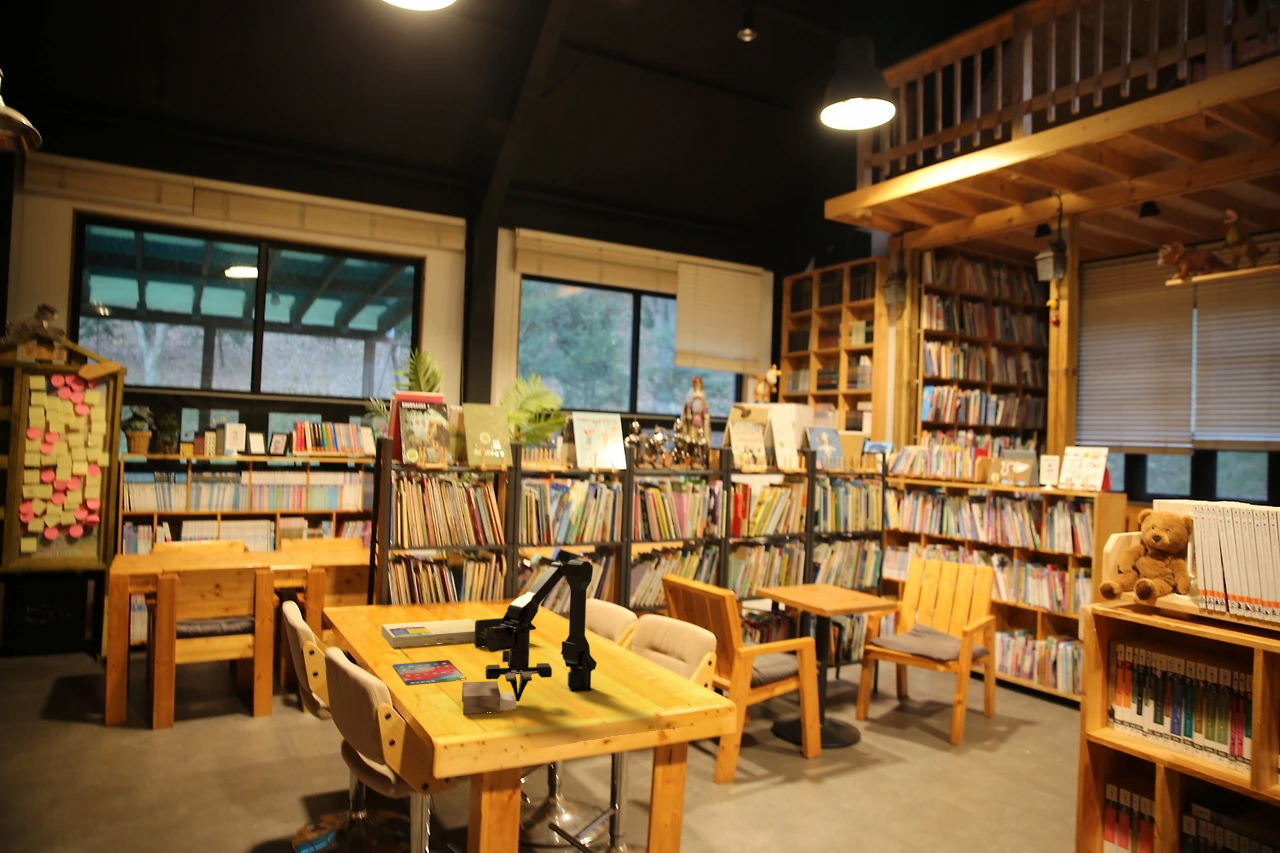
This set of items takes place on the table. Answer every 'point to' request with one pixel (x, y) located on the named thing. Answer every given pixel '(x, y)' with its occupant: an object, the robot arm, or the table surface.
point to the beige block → (507, 701)
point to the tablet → (427, 672)
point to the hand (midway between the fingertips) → (517, 701)
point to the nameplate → (484, 630)
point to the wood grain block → (480, 697)
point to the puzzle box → (429, 632)
